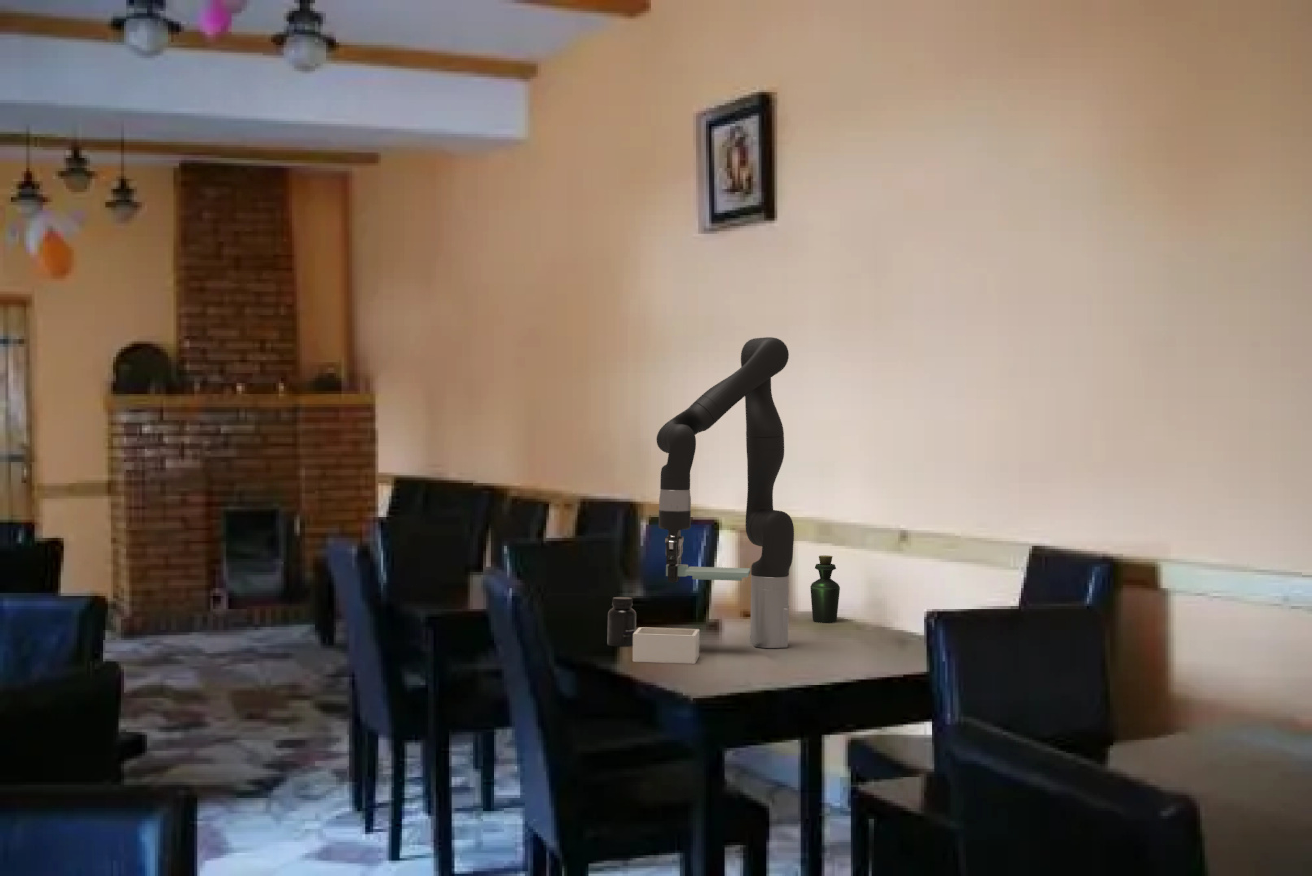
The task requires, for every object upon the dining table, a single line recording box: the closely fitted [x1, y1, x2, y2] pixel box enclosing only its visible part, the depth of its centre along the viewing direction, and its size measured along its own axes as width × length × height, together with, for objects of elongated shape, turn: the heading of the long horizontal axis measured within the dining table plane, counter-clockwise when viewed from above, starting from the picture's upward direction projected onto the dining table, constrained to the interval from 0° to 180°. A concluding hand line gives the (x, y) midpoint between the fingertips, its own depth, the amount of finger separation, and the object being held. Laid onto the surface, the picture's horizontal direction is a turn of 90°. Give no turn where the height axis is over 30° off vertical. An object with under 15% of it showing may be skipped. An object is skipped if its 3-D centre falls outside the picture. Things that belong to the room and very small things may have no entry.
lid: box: [665, 563, 751, 582], centre depth 325 cm, size 19×11×3 cm, turn 83°
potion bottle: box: [809, 554, 841, 624], centre depth 381 cm, size 8×8×18 cm
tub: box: [632, 626, 700, 665], centre depth 314 cm, size 14×10×7 cm
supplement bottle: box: [606, 596, 637, 648], centre depth 333 cm, size 7×7×12 cm
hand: (673, 580), depth 326 cm, fingers closed on lid, 4 cm apart
